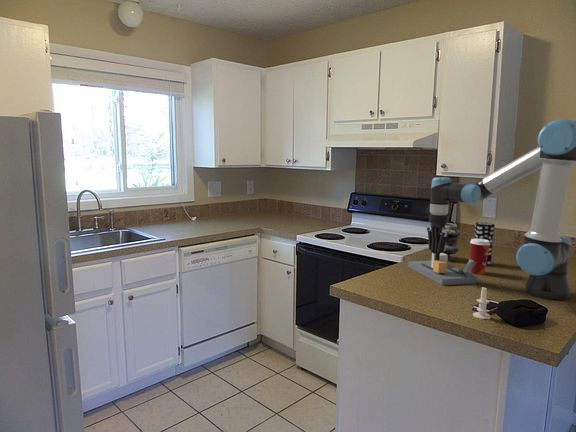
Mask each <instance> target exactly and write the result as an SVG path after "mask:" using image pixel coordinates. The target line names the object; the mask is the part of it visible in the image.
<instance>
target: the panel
mask: <svg viewBox="0 0 576 432" xmlns="http://www.w3.org/2000/svg"><path fill="white" fill-rule="evenodd" d="M431 262H432V260H415V261H413V260H411V261H407V268H409V269H412V270H413V271H415V272H417V273H419V275H422V276H425V277H426V278H428V279H429V280H431V281H433V282H436V283H437V284H439V285H441V286H448V285H449V286H450V285H452V286H453V285H465V284H466V285H467V284H468V285H469V284H477V281H478V277H477V276H475V275H473V273H471V272H466V275H464V274H462V272H463V270H464V268H459V269H458V268H457V267H454V266H452V265H451V264H448V263H447V273H437V272H435V271H433V268H432V267H431Z"/></svg>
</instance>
